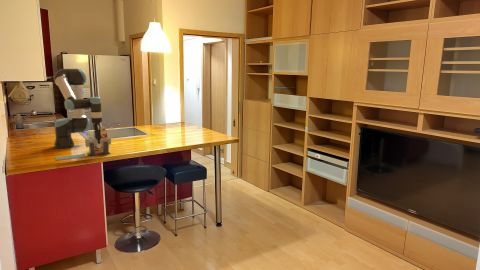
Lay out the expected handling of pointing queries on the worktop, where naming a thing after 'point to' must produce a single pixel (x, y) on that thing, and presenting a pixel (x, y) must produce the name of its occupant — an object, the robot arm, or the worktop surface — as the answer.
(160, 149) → the worktop surface
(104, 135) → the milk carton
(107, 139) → the rail
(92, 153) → the standards
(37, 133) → the worktop surface
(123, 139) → the worktop surface
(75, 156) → the mat
